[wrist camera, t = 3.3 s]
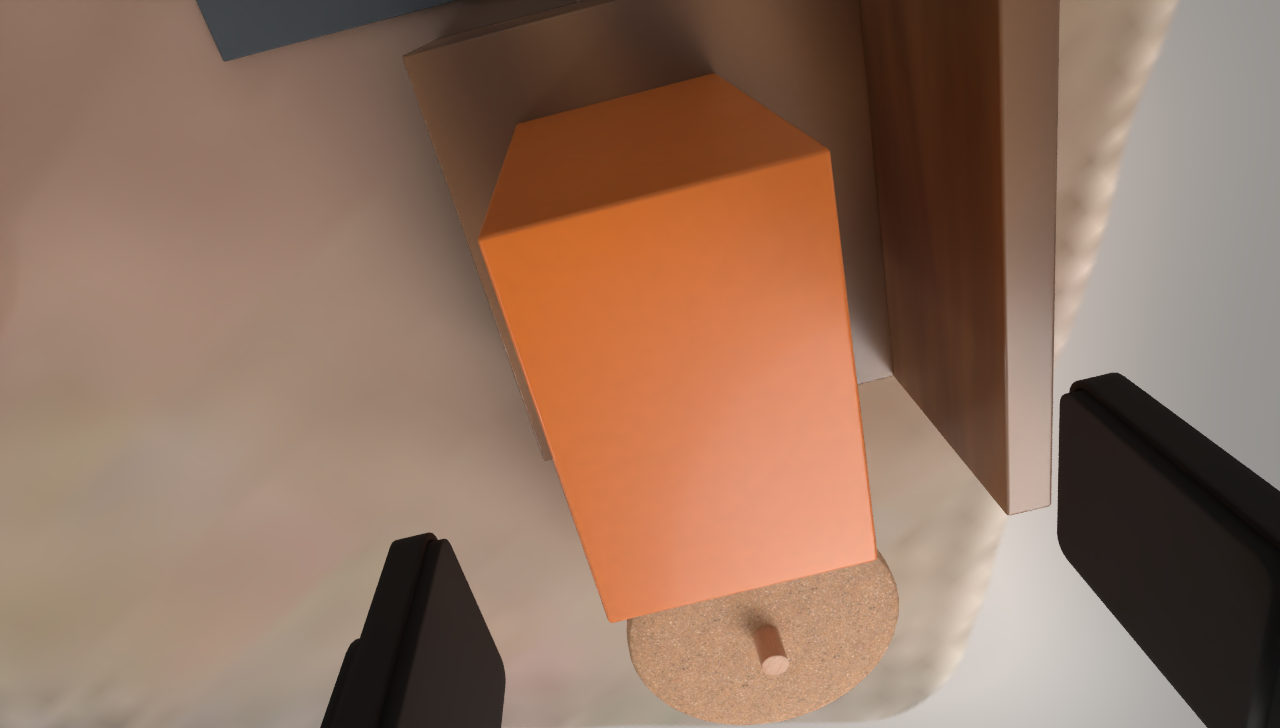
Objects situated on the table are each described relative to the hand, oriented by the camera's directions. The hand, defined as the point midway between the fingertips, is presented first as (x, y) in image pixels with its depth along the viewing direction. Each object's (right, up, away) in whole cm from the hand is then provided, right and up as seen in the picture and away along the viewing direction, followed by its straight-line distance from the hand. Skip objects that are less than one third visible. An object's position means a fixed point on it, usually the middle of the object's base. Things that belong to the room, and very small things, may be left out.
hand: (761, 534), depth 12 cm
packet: (-2, +6, +13) cm, 14 cm away
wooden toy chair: (-1, +9, +18) cm, 20 cm away
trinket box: (+2, -4, +25) cm, 26 cm away
